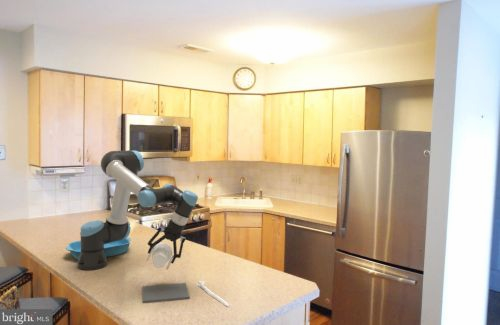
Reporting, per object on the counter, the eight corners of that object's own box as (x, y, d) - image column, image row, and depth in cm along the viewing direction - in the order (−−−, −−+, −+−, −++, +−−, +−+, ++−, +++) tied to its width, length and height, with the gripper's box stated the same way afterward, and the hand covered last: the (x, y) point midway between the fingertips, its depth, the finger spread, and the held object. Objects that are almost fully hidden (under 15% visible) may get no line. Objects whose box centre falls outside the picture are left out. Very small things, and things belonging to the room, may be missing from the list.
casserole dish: (71, 265, 209) (71, 252, 208) (61, 254, 226) (61, 242, 226) (137, 253, 232) (137, 241, 231) (123, 244, 249) (123, 233, 249)
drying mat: (142, 303, 165) (142, 300, 165) (142, 288, 181) (142, 286, 181) (189, 298, 171) (189, 296, 171) (185, 284, 186) (185, 282, 186)
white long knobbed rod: (234, 306, 166) (234, 299, 165) (226, 308, 163) (226, 302, 163) (203, 284, 188) (203, 278, 188) (195, 286, 186) (195, 280, 186)
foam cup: (155, 275, 176) (159, 264, 189) (173, 265, 177) (175, 255, 189) (145, 258, 175) (149, 248, 187) (163, 247, 175) (165, 238, 188)
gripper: (155, 214, 176) (134, 257, 177) (198, 234, 179) (178, 276, 181) (157, 210, 183) (137, 252, 185) (199, 229, 187) (179, 269, 188)
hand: (157, 264), depth 183 cm, fingers closed on foam cup, 9 cm apart
